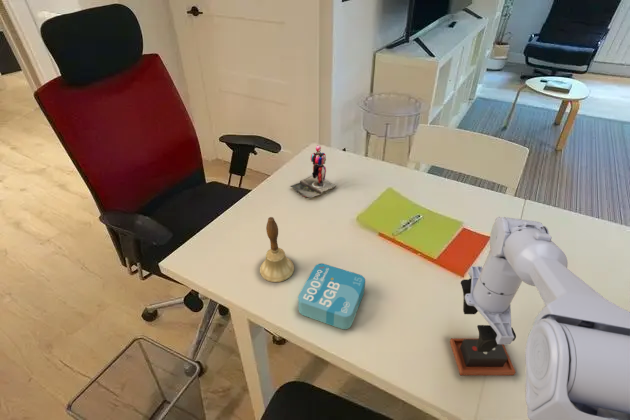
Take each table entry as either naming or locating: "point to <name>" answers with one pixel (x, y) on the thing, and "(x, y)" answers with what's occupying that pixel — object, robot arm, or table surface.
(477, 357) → the remote
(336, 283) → the data package
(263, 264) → the hand bell
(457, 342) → the dish
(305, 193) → the statue
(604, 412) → the robot arm
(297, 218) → the table surface
